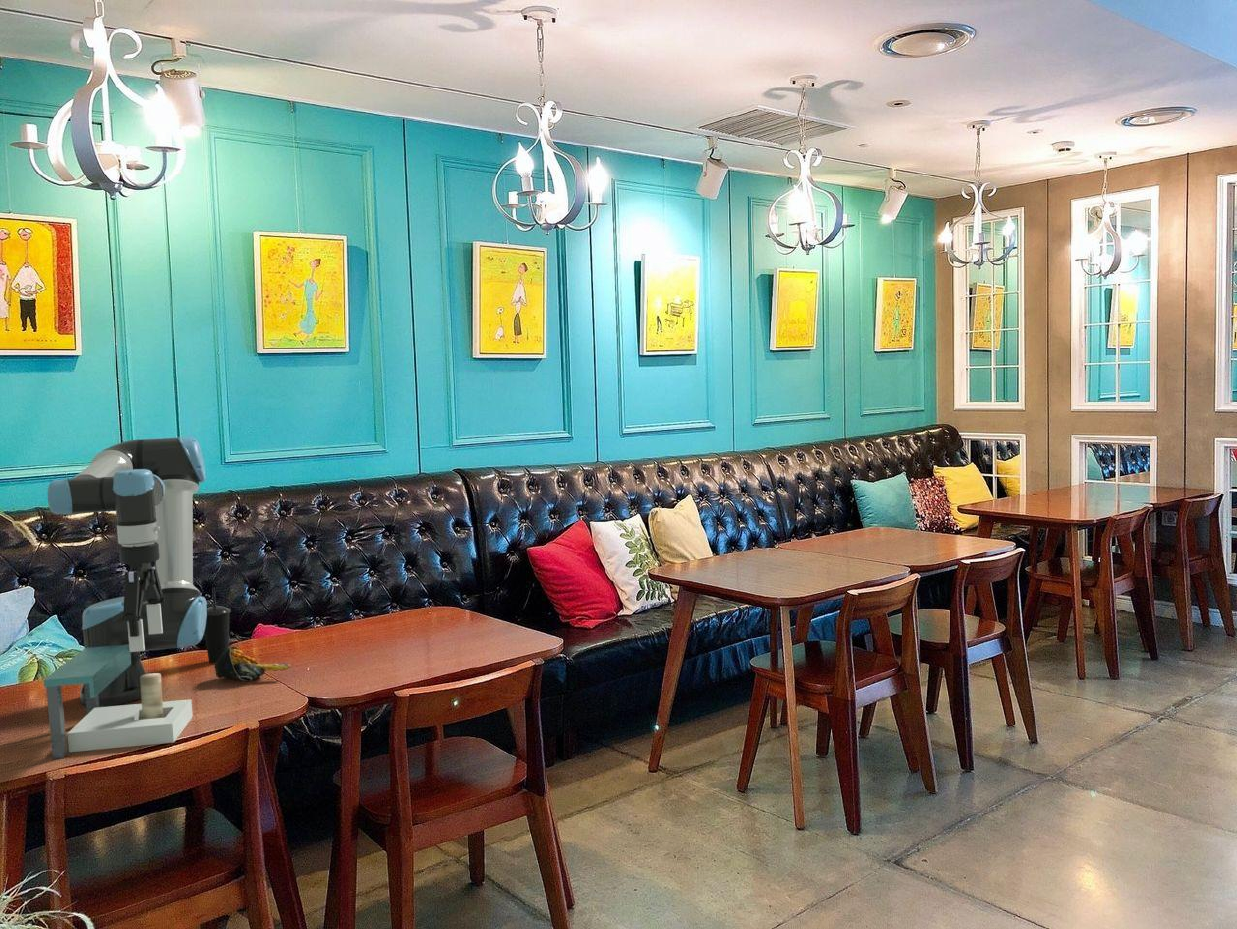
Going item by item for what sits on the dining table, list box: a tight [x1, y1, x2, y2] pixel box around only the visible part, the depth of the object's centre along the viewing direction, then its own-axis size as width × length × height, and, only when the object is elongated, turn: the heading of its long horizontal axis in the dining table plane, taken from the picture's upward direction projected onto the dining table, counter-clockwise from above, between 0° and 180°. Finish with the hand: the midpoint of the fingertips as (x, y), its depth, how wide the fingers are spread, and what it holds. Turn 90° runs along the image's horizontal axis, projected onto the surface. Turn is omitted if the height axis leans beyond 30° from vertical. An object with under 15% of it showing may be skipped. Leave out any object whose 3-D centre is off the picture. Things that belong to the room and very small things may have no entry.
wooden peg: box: [140, 672, 164, 720], centre depth 209 cm, size 4×4×12 cm
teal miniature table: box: [43, 644, 131, 760], centre depth 207 cm, size 24×9×16 cm, turn 10°
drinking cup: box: [203, 587, 231, 664], centre depth 262 cm, size 8×8×20 cm
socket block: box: [66, 698, 194, 753], centre depth 209 cm, size 16×20×4 cm
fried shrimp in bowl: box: [213, 644, 291, 682], centre depth 246 cm, size 9×11×18 cm
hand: (146, 642), depth 209 cm, fingers open, 13 cm apart
